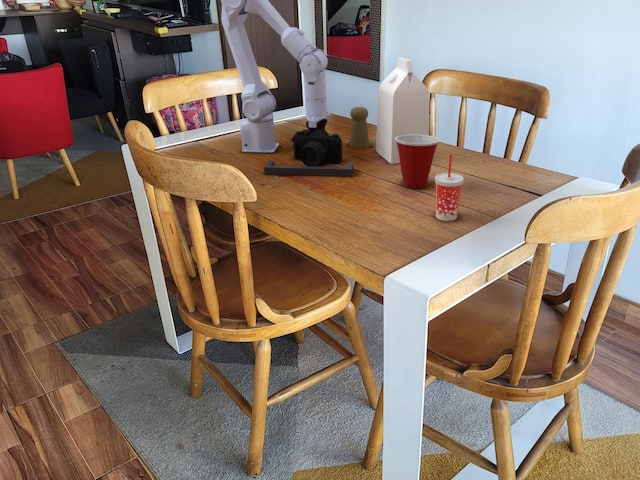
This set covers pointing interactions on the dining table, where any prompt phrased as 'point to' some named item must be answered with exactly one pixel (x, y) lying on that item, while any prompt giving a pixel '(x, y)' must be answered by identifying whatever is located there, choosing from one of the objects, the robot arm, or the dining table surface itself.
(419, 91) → the milk
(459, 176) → the beverage cup
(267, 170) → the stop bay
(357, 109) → the cork
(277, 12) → the robot arm
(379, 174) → the dining table surface
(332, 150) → the film camera
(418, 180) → the plastic cup
